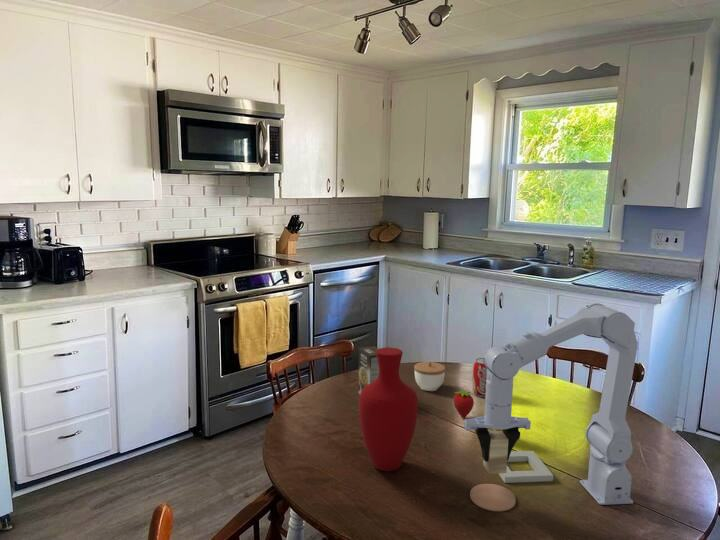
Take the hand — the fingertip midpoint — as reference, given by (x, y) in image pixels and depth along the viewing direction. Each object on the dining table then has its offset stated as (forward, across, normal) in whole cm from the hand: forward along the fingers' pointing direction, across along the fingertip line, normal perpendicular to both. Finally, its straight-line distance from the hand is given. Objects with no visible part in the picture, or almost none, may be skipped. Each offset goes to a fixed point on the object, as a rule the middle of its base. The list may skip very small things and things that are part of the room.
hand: (495, 458), depth 120 cm
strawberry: (+10, -5, -42) cm, 43 cm away
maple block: (+2, 0, 0) cm, 2 cm away
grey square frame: (+9, -11, -12) cm, 18 cm away
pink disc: (+9, 0, 0) cm, 9 cm away
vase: (+10, +22, -16) cm, 29 cm away
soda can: (+10, -17, -60) cm, 63 cm away
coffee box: (+10, +21, -60) cm, 64 cm away
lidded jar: (+10, 0, -67) cm, 67 cm away
